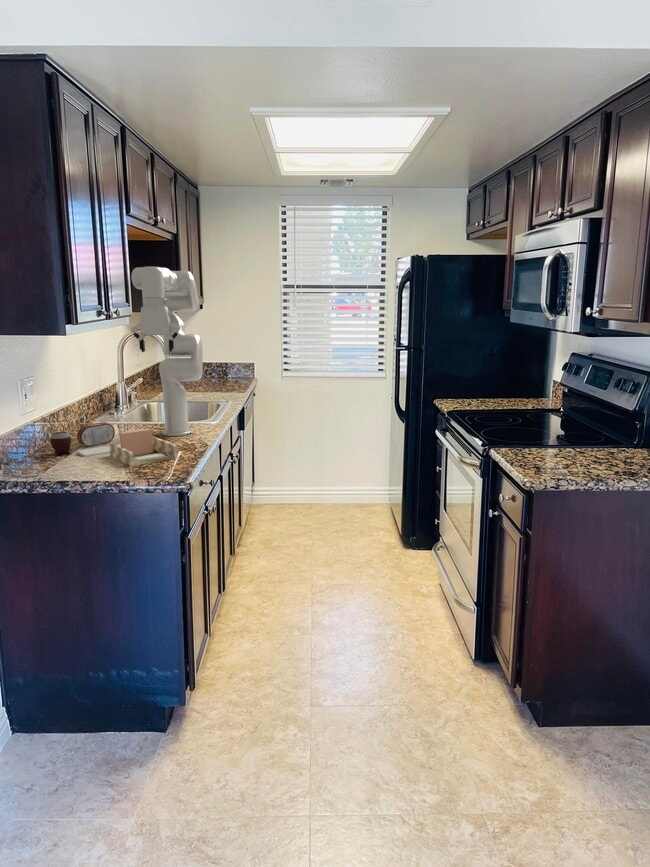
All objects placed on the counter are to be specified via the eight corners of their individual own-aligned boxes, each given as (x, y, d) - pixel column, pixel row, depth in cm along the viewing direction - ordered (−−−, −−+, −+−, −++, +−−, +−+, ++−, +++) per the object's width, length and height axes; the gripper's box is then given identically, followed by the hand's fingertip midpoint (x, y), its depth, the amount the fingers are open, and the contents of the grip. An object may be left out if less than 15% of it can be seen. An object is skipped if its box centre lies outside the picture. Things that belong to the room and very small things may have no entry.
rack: (110, 456, 224) (109, 443, 223) (154, 449, 234) (153, 436, 233) (131, 467, 209) (130, 452, 208) (177, 458, 220) (176, 445, 219)
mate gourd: (76, 452, 231) (72, 412, 228) (63, 457, 224) (59, 416, 220) (58, 451, 233) (54, 412, 229) (45, 456, 225) (40, 416, 222)
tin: (112, 440, 250) (110, 420, 248) (116, 441, 248) (115, 421, 246) (77, 447, 239) (75, 426, 237) (82, 448, 237) (79, 427, 235)
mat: (77, 453, 229) (76, 450, 229) (134, 444, 243) (134, 441, 243) (85, 457, 222) (85, 455, 222) (143, 448, 236) (143, 445, 236)
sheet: (121, 457, 223) (119, 432, 222) (150, 452, 230) (148, 428, 228) (124, 458, 222) (122, 433, 220) (153, 453, 228) (151, 429, 226)
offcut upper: (134, 461, 216) (134, 457, 215) (160, 456, 222) (160, 453, 222) (138, 463, 213) (138, 459, 213) (165, 458, 219) (165, 455, 219)
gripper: (180, 302, 223) (182, 350, 227) (130, 303, 221) (134, 351, 225) (177, 302, 216) (180, 351, 219) (126, 303, 214) (130, 352, 218)
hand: (157, 351), depth 222 cm, fingers open, 9 cm apart
